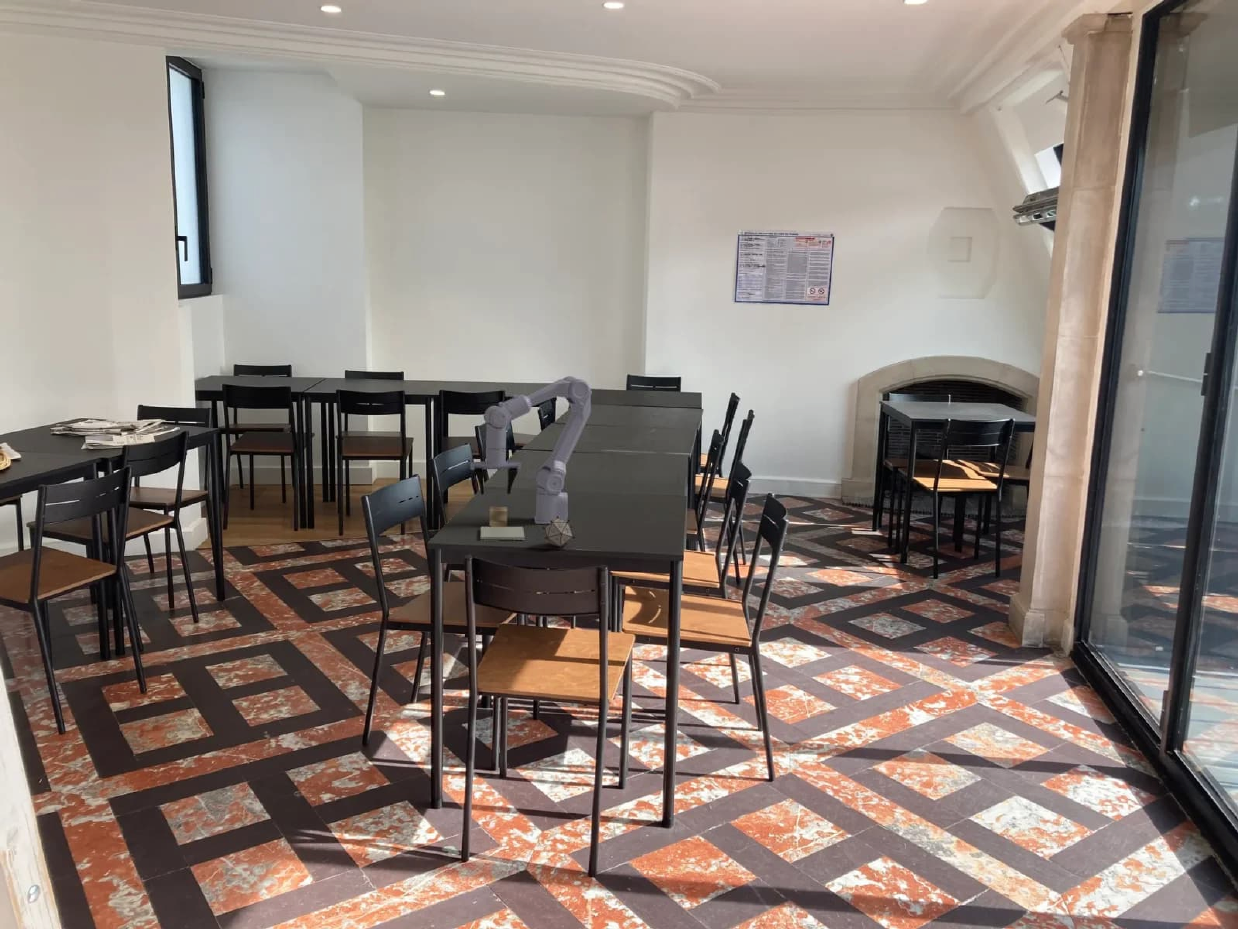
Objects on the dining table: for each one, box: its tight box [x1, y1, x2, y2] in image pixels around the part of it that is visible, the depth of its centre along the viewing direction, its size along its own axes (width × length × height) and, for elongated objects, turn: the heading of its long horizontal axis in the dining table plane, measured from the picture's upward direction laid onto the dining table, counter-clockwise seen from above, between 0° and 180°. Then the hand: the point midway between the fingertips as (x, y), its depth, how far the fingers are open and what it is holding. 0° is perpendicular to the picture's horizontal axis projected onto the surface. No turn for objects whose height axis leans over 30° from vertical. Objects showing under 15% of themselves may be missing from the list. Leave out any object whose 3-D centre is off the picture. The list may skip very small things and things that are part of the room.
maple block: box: [489, 506, 508, 527], centre depth 277 cm, size 5×5×5 cm
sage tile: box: [480, 526, 525, 541], centre depth 266 cm, size 12×11×1 cm
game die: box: [541, 516, 576, 550], centre depth 256 cm, size 9×8×10 cm
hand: (495, 493), depth 276 cm, fingers open, 7 cm apart
